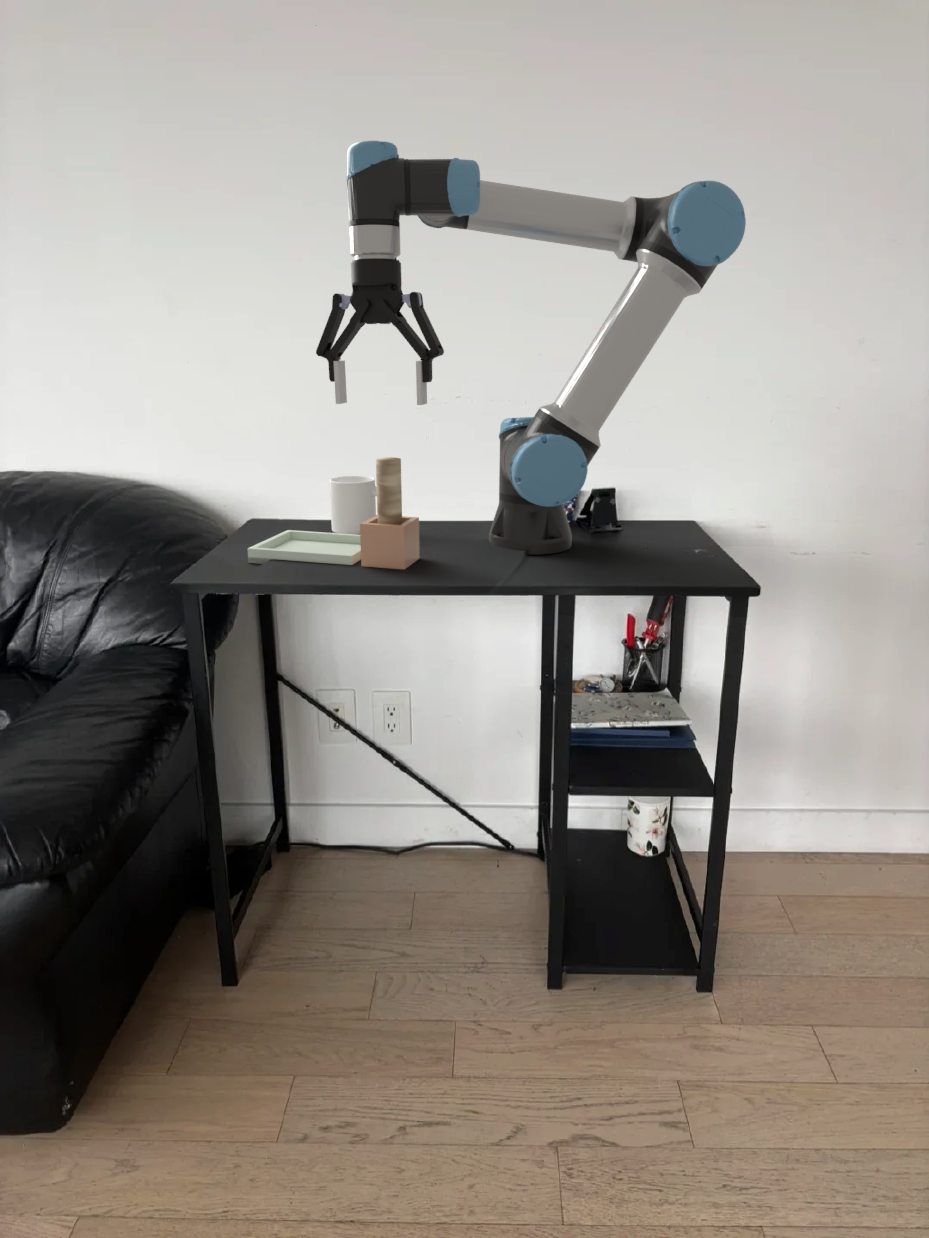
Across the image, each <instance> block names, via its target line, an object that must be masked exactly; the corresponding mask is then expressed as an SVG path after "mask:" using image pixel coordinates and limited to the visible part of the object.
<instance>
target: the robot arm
mask: <svg viewBox="0 0 929 1238" xmlns="http://www.w3.org/2000/svg"><path fill="white" fill-rule="evenodd" d="M346 189H347V190H346V191H347V192H346V193H347V211H348V225H349V227H348V228H349V254H350V256H351V257H353V258H354V259H353V260H352V261H351V263H350V273H351V274H350V276H351V288H352V291H351V294H350V295H345V294H344V293H333V295H332V302H331V305H332V307H331V311H330V314H329V316H328V318H327V321H326V324H325V326H324V329H323V332H322V335H321V337H320V340H319V343H318V345H317V347H316V351H315V354H316V356H318V357H321V358H324V359H326V361H327V362H328V363H327V364H328V374H329V375H328V379H329V381H330V382H332V383H333V382H334V394H335V395H334V396H335V404H336V405H341V404H346V403H348V402H347V401H348V397H347V380H346V379H347V378H346V377H347V376H346V375H347V374H346V360H341V359H342V358H341V357H342V356H343V354H344V353H345V352H346V350H347V349H348V347H349V346H350V344H351V343H352V341H353V340H354V339H355V337H356V335H358V333H359V331H360V330H361V328H363V327H364V326H365V325H377V324H380V325H390V324H392V325H393V326H394V327H395V328H396V329H397V330H398V332H399V333H400V334H401V336H402V337H403V338H404V339H405V341H407V343H408V345H409V346H411V348H412V349H413V350H414V351H415V353H416V354H417V356H418V357H419V358H420V359H419V360H416V361H415V373H416V374H415V376H416V377H415V378H416V379H415V380H416V381H415V382H416V405H417V406H424V405H427V404H428V386H427V385H428V383H432V380H433V360H434V359H436V358H438V357H441V356H443V355H444V354H445V350H444V348H443V346H442V343H441V342H440V339H439V337H438V335H437V333H436V330H435V329H434V326H433V324H432V322H431V320H430V318H429V316H428V314H427V312H426V309H425V308H424V307H425V306H424V299H423V294H422V293H421V292H417V291H412V292H410V293H408V294H404V293H403V290H402V284H403V282H402V263H401V262H400V260H399V259H397V257H400V255H401V224H400V218H401V216H407V217H408V216H417V217H418V218H419V220H420V222H422V223H423V224H424V225H426V226H427V227H429V228H430V227H431V228H434V229H442V228H451V229H452V228H453V229H457V230H458V229H459V230H469V231H475V232H481V233H482V232H483V233H489V234H493V235H502V236H507V237H515V238H520V239H521V238H522V239H528V240H532V241H533V240H535V241H540V242H547V243H548V242H549V243H554V244H561V245H568V246H572V247H573V246H574V247H580V248H581V247H582V248H586V249H595V250H599V251H600V250H601V251H606V252H607V251H608V252H611V253H612V252H613V253H614V255H615V256H616V258H617V259H618V260H622V261H628V262H634V263H637V268H636V271H635V272H634V274H633V275H632V277H631V279H630V280H629V281H628V283H627V284H626V286H625V288H624V290H623V291H622V293H621V294H620V295H619V297H618V299H617V301H616V302H615V304H614V306H613V307H612V308H611V309H610V310H611V311H610V312H609V314H608V315H607V317H606V318H605V320H604V322H603V323H602V324H601V327H600V328H599V330H598V331H597V333H596V335H594V336H595V337H593V339H592V340H591V343H590V344H589V346H588V348H587V349H586V351H585V352H584V354H583V356H582V357H581V359H580V360H579V362H577V363H578V364H577V365H576V367H575V368H574V370H573V372H572V373H571V375H570V376H569V378H567V379H568V380H567V381H566V382H565V384H564V386H563V388H562V389H561V390H560V392H559V394H558V396H557V397H556V398H555V400H554V402H552V403H551V404H545V405H542V406H539V408H538V409H537V411H536V413H534V414H535V415H534V416H529V417H527V416H525V417H524V416H523V417H507V418H505V419H503V420H502V421H501V423H500V427H499V428H500V429H499V434H498V439H499V472H498V473H499V477H498V478H499V481H498V484H499V485H498V487H499V488H498V491H499V492H498V506H497V509H496V511H495V514H494V517H493V521H492V524H491V526H490V528H489V529H490V530H489V532H488V541H489V543H490V544H491V545H494V546H496V547H500V548H504V549H510V550H517V551H518V550H519V551H525V552H523V555H531V556H532V555H533V556H534V555H549V554H558V553H561V552H565V551H567V550H569V549H571V547H572V541H573V540H572V539H573V536H572V535H573V534H572V530H571V526H570V523H569V521H568V516H567V513H566V509H565V505H564V504H566V503H568V502H569V501H571V500H572V499H574V498H575V497H576V496H577V495H578V494H579V493H580V491H581V490H582V488H583V487H584V485H585V482H586V480H587V475H588V467H589V464H590V463H591V462H592V460H593V458H594V457H595V455H596V454H597V452H598V451H599V449H600V448H601V446H602V445H601V441H600V436H599V434H600V430H601V429H602V427H603V425H604V423H605V422H606V420H607V419H608V418H609V416H610V415H611V413H612V411H613V410H614V408H615V407H616V405H617V404H618V402H619V400H620V399H621V397H622V396H623V394H624V393H625V392H626V390H627V388H628V386H629V384H630V383H631V382H632V380H633V379H634V377H635V376H636V374H637V372H638V371H639V369H640V368H641V367H642V365H643V364H644V362H645V360H646V359H647V357H648V355H649V354H650V352H651V351H652V349H653V348H654V346H655V344H657V341H658V340H659V338H660V337H661V335H662V334H663V332H664V331H665V329H666V327H667V326H668V324H669V323H670V321H671V320H672V318H673V317H674V315H675V313H676V311H677V310H678V308H680V305H681V304H682V302H683V301H684V300H685V298H687V297H691V296H693V295H697V294H700V293H701V291H702V289H703V288H704V286H705V285H706V284H707V283H708V280H709V279H710V278H711V276H712V275H713V273H714V272H715V270H716V268H717V267H718V265H720V264H722V263H724V262H726V261H727V260H728V259H730V257H731V256H732V255H733V254H734V253H735V252H736V250H737V249H738V248H739V246H741V243H742V241H743V238H744V235H745V232H746V225H747V224H746V223H747V221H746V213H745V208H744V205H743V202H742V200H741V199H740V197H739V196H738V195H737V193H736V192H735V191H734V190H733V189H732V188H730V187H729V186H728V185H726V184H724V183H723V182H720V181H716V180H699V181H695V182H694V181H693V182H691V183H688V184H686V185H685V186H684V187H682V188H681V189H680V190H678V191H676V192H673V193H672V194H670V195H666V196H661V197H654V198H653V197H652V198H651V197H649V198H648V197H639V196H629V197H628V198H626V199H625V200H624V201H617V200H612V199H611V200H610V199H605V198H597V197H594V196H593V197H591V196H585V195H580V194H579V195H577V194H572V193H571V194H570V193H566V192H560V191H553V190H545V189H540V188H532V187H527V186H521V185H520V186H519V185H514V184H507V183H500V182H494V181H488V180H487V181H486V180H481V172H480V166H479V163H478V162H477V161H476V160H473V159H463V158H462V159H460V158H458V157H453V158H443V159H442V158H436V159H433V158H431V159H430V158H429V159H427V158H424V159H423V158H422V159H415V158H414V159H408V158H403V157H400V155H399V152H398V148H397V146H396V145H395V144H394V143H393V142H390V141H379V140H362V141H357V142H354V143H352V144H351V145H349V147H348V149H347V152H346ZM405 304H406V306H407V307H408V308H409V309H411V311H412V314H413V317H414V319H415V320H416V322H417V325H418V327H419V329H420V332H421V333H422V334H421V335H422V336H423V337H424V340H425V341H426V344H427V345H426V344H425V343H424V342H423V340H422V339H421V338H420V336H419V335H418V334H417V332H416V331H415V330H414V329H413V327H412V325H410V324H409V323H408V320H407V319H406V317H405V316H404V314H403V313H402V312H401V309H402V307H403V306H404V305H405ZM350 305H351V306H352V308H353V309H354V311H355V312H354V313H353V314H352V316H351V318H350V319H349V322H348V323H347V325H346V327H345V328H344V330H343V331H342V332H341V334H340V335H339V337H338V338H337V340H336V341H335V339H336V336H337V335H338V332H339V329H340V326H341V324H342V321H343V318H344V316H345V312H346V310H347V309H348V308H349V306H350Z"/></svg>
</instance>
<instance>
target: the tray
mask: <svg viewBox="0 0 929 1238" xmlns="http://www.w3.org/2000/svg"><path fill="white" fill-rule="evenodd" d="M246 550H247V560H248V561H247V562H248V563H249V564H260V565H263V564H265V563H268V562H269V561H272V560H277V561H293V562H302V563H303V562H306V563H317V564H318V563H319V564H332V565H345V566H353V565H355V564H356V563H359V562H360V561H361V543H360V534H341V533H335V532H322V531H309V530H295V529H294V530H292V529H287V530H285V531H283V532H280V533H278V534H276V535H274V536H271V537H269V538H267V539H265V540H263V541H261V542H258V543H256V544H254V545H252V546H249V547H248V548H247V549H246Z"/></svg>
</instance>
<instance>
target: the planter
mask: <svg viewBox="0 0 929 1238" xmlns="http://www.w3.org/2000/svg"><path fill="white" fill-rule="evenodd" d="M359 535H360V543H361V560H360V563H361V564H360V565H361V567H365V568H376V569H377V568H379V569H391V570H406V569H408V568H409V567H410V566H412V564H414V563H416V562H418V560H420V556H421V555H420V517H417V516H403V515H402V524H401V525H393V524H378V517H377V514H376V516H374V517H372V518H370V519H368V520H366V521H364V522H362V523H360V534H359Z"/></svg>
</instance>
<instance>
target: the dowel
mask: <svg viewBox="0 0 929 1238" xmlns="http://www.w3.org/2000/svg"><path fill="white" fill-rule="evenodd" d="M375 473H376V474H375V476H376V479H375V484H376V487H377V496H376V515H377V517H378V524H393V525H401V524H402V516H403V509H402V508H403V505H402V504H403V503H402V502H403V500H402V499H403V498H402V497H403V496H402V495H403V493H402V458H400V457H392V456H391V457H388V456H387V457H386V456H385V457H378V458H375Z"/></svg>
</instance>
